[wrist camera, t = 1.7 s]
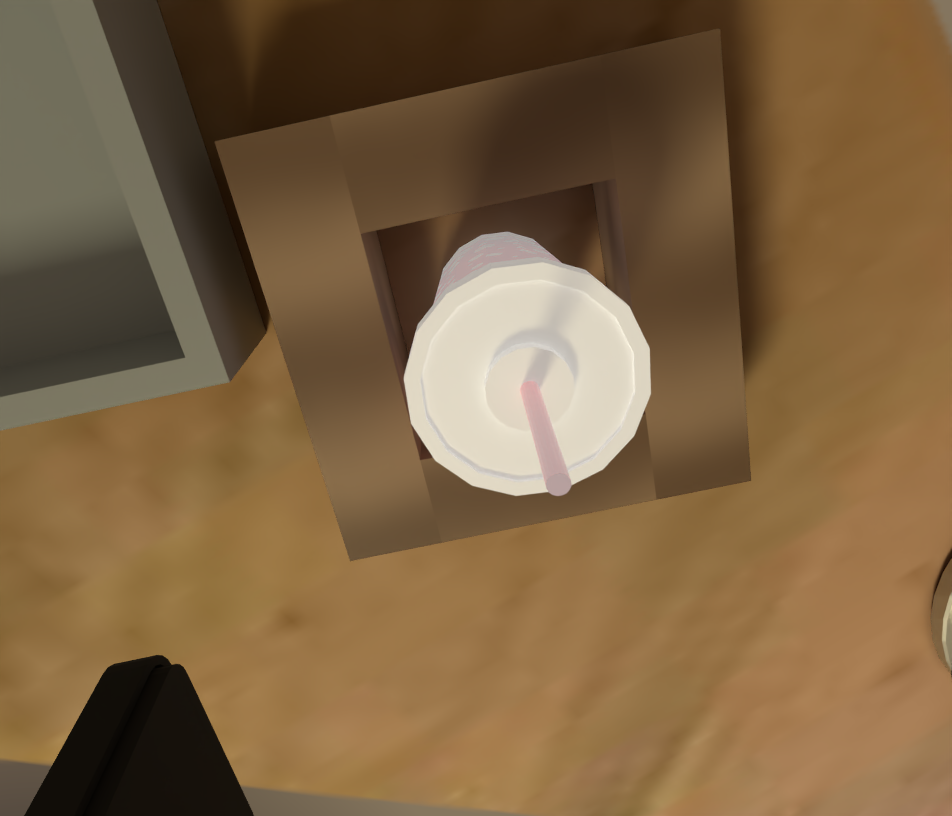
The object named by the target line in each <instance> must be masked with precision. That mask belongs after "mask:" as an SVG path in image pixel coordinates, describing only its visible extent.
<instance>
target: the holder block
mask: <svg viewBox="0 0 952 816" xmlns="http://www.w3.org/2000/svg"><path fill="white" fill-rule="evenodd" d="M214 142H215V145H216V148H217V151H218V155H219V158H220V161H221V164H222V167H223V170H224V173H225V176H226V179H227V182H228V185H229V188H230V192H231V195H232V198H233V201H234V204H235V207H236V210H237V213H238V216H239V219H240V222H241V225H242V229H243V232H244V235H245V238H246V241H247V244H248V247H249V250H250V253H251V256H252V259H253V262H254V266H255V269H256V272H257V275H258V278H259V281H260V284H261V287H262V290H263V293H264V296H265V299H266V303H267V306H268V309H269V312H270V315H271V318H272V321H273V324H274V327H275V330H276V333H277V336H278V340H279V343H280V346H281V349H282V352H283V355H284V358H285V361H286V364H287V367H288V370H289V373H290V377H291V380H292V383H293V386H294V389H295V392H296V395H297V398H298V401H299V404H300V407H301V411H302V414H303V417H304V420H305V423H306V426H307V429H308V432H309V435H310V438H311V441H312V444H313V448H314V451H315V454H316V457H317V460H318V463H319V466H320V469H321V472H322V475H323V478H324V481H325V485H326V488H327V491H328V494H329V497H330V500H331V503H332V506H333V509H334V512H335V515H336V518H337V522H338V525H339V528H340V531H341V534H342V537H343V540H344V543H345V546H346V549H347V552H348V555H349V559H350V561H352V560H357V559H362V558H367V557H372V556H377V555H382V554H387V553H392V552H397V551H402V550H407V549H412V548H417V547H422V546H427V545H432V544H437V543H442V542H447V541H452V540H457V539H462V538H467V537H472V536H477V535H482V534H487V533H492V532H497V531H502V530H507V529H512V528H517V527H522V526H527V525H532V524H537V523H542V522H547V521H552V520H557V519H562V518H567V517H572V516H577V515H582V514H587V513H592V512H597V511H602V510H607V509H612V508H617V507H622V506H627V505H632V504H637V503H642V502H647V501H652V500H657V499H662V498H667V497H672V496H677V495H682V494H687V493H692V492H697V491H702V490H707V489H712V488H717V487H722V486H727V485H732V484H737V483H742V482H747V481H751V472H750V457H749V443H748V428H747V413H746V399H745V384H744V370H743V355H742V340H741V326H740V311H739V297H738V282H737V267H736V253H735V238H734V223H733V209H732V194H731V180H730V165H729V150H728V136H727V121H726V107H725V92H724V77H723V63H722V48H721V33H720V28H718V29H714V30H709V31H705V32H700V33H696V34H692V35H687V36H683V37H678V38H674V39H669V40H665V41H660V42H656V43H651V44H647V45H642V46H638V47H633V48H629V49H625V50H620V51H616V52H611V53H607V54H602V55H598V56H593V57H589V58H584V59H580V60H575V61H571V62H567V63H562V64H558V65H553V66H549V67H544V68H540V69H535V70H531V71H526V72H522V73H517V74H513V75H508V76H504V77H500V78H495V79H491V80H486V81H482V82H477V83H473V84H468V85H464V86H459V87H455V88H450V89H446V90H442V91H437V92H433V93H428V94H424V95H419V96H415V97H410V98H406V99H401V100H397V101H392V102H388V103H384V104H379V105H375V106H370V107H366V108H361V109H357V110H352V111H348V112H343V113H339V114H334V115H330V116H325V117H321V118H317V119H312V120H308V121H303V122H299V123H294V124H290V125H285V126H281V127H276V128H272V129H267V130H263V131H259V132H254V133H250V134H245V135H241V136H236V137H232V138H227V139H223V140H218V141H214ZM587 184H592V185H593V192H594V199H595V206H596V214H597V221H598V228H599V235H600V242H601V250H602V257H603V264H604V271H605V278H606V286H607V288H608V289H609V290H611V291H612V292H613V293H614V294H616V295H617V296H618V297H619V298H620V299H622V300H623V301H624V302H625V303H626V304H627V305H628V306H629V307H630V309H631V311H632V313H633V315H634V317H635V319H636V321H637V323H638V325H639V327H640V330H641V332H642V334H643V336H644V338H645V340H646V342H647V344H648V346H649V348H650V379H651V395H650V397H649V400H648V402H647V405H646V407H645V410H644V413H643V415H642V418H641V420H640V423H639V425H638V428H637V430H636V433H635V435H634V437H633V438H632V439H631V440H630V441H629V442H628V443H627V444H626V445H625V446H624V447H623V449H622V450H621V451H620V452H619V453H618V454H617V455H616V456H615V457H614V458H613V459H612V460H611V461H610V462H609V463H608V465H607V466H606V467H605V468H604V469H603V470H601V471H599V472H597V473H595V474H593V475H591V476H589V477H587V478H585V479H583V480H581V481H579V482H577V483H575V484H573V485H571V488H570V490H569V491H568V492H567V493H566V494H564V495H561V496H555V495H552V494H550V493H549V492H544V493H536V494H527V495H519V496H514V495H510V494H506V493H501V492H497V491H493V490H488V489H484V488H480V487H475V486H472V485H470V484H469V483H467V482H466V481H464V480H463V479H461V478H460V477H458V476H457V475H456V474H454V473H453V472H451V471H450V470H448V469H447V468H445V467H444V466H442V465H441V464H439V463H438V462H436V461H435V460H434V458H433V456H432V455H431V453H430V452H429V450H428V449H427V447H426V446H425V444H424V443H423V441H422V440H421V438H420V437H419V435H418V434H417V432H416V430H415V429H414V427H413V426H412V424H411V420H410V414H409V408H408V402H407V396H406V390H405V384H404V374H405V370H406V366H407V362H408V359H409V356H408V352H407V348H406V345H405V341H404V337H403V333H402V329H401V325H400V321H399V317H398V313H397V309H396V305H395V301H394V297H393V294H392V290H391V286H390V282H389V278H388V274H387V270H386V266H385V262H384V258H383V254H382V250H381V246H380V242H379V239H378V235H377V231H376V230H380V229H385V228H389V227H394V226H399V225H403V224H408V223H412V222H417V221H422V220H426V219H431V218H435V217H440V216H445V215H449V214H454V213H458V212H463V211H468V210H472V209H477V208H481V207H486V206H491V205H495V204H500V203H504V202H509V201H514V200H518V199H523V198H527V197H532V196H537V195H541V194H546V193H550V192H555V191H560V190H564V189H569V188H573V187H578V186H583V185H587Z"/></svg>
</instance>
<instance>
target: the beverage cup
mask: <svg viewBox="0 0 952 816" xmlns="http://www.w3.org/2000/svg"><path fill="white" fill-rule="evenodd" d="M404 384H405V390H406V396H407V402H408V408H409V414H410V420H411V424H412V426H413V427H414V429H415V430H416V432H417V434H418V435H419V437H420V438H421V440H422V441H423V443H424V444H425V446H426V447H427V449H428V450H429V452H430V453H431V455H432V456H433V458H434V460H435V461H436V462H438V463H439V464H441V465H442V466H444V467H445V468H447V469H448V470H450V471H451V472H453V473H454V474H456V475H457V476H458V477H460V478H461V479H463V480H464V481H466V482H467V483H469V484H470V485H472V486H475V487H480V488H484V489H488V490H493V491H497V492H501V493H506V494H510V495H514V496H519V495H527V494H536V493H544V492H549V493H550V494H552V495H555V496H561V495H564V494H566V493H567V492H568V491H569V490H570V488H571V485H573V484H575V483H577V482H579V481H581V480H583V479H585V478H587V477H589V476H591V475H593V474H595V473H597V472H599V471H601V470H603V469H604V468H605V467H606V466H607V465H608V463H609V462H610V461H611V460H612V459H613V458H614V457H615V456H616V455H617V454H618V453H619V452H620V451H621V450H622V449H623V447H624V446H625V445H626V444H627V443H628V442H629V441H630V440H631V439H632V438H633V437H634V435H635V433H636V430H637V428H638V425H639V423H640V420H641V418H642V415H643V413H644V410H645V407H646V405H647V402H648V400H649V397H650V395H651V379H650V348H649V346H648V344H647V342H646V340H645V338H644V336H643V334H642V332H641V330H640V327H639V325H638V323H637V321H636V319H635V317H634V315H633V313H632V311H631V309H630V307H629V306H628V305H627V304H626V303H625V302H624V301H623V300H622V299H620V298H619V297H618V296H617V295H616V294H614V293H613V292H612V291H611V290H609V289H608V288H607V287H606V286H605V285H603V284H602V283H601V282H600V281H598V280H597V279H596V278H595V277H594V276H592V275H591V274H590V273H588V272H587V271H586V270H584V269H581V268H577V267H573V266H570V265H566V264H563V263H561V262H560V261H559V260H558V259H557V258H555V257H554V256H553V255H552V254H550V253H549V252H548V251H547V250H546V249H544V248H543V247H542V246H541V245H539V244H538V243H537V242H536V241H535V240H533V239H532V238H528V237H525V236H521V235H517V234H514V233H510V232H501V233H493V234H485V235H481V236H479V237H477V238H476V239H474V240H472V241H470V242H469V243H467V244H465V245H463V246H462V247H460V248H459V249H458V250H457V251H456V253H455V254H454V255H453V257H452V258H451V259H450V260H449V262H448V263H447V264H446V266H445V267H444V268H443V272H442V275H441V279H440V283H439V286H438V290H437V293H436V297H435V300H434V304H433V306H432V307H431V308H430V309H429V311H428V312H427V313H426V315H425V316H424V317H423V318H422V320H421V321H420V322H419V323H418V326H417V329H416V332H415V336H414V340H413V343H412V347H411V351H410V355H409V359H408V362H407V366H406V370H405V374H404Z"/></svg>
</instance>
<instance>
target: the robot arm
mask: <svg viewBox="0 0 952 816" xmlns="http://www.w3.org/2000/svg"><path fill="white" fill-rule="evenodd" d="M931 629H932V639H933V642H934V645H935V648H936V651H937V653H938V656H939V658H940V660H941V661H942V662H943V664H944V665H945V667H946V668H947V669H948V671H949V672H950V674H951V675H952V559H951V560H950V562H949V563H948V565H947V567H946V568H945V570H944V572H943V574H942V577H941V579H940V582H939V584H938V587H937V590H936V592H935V595H934V600H933V606H932V612H931ZM24 816H254V815H253V812H252V810H251V808H250V806H249V804H248V801H247V799H246V797H245V795H244V793H243V791H242V789H241V787H240V784H239V782H238V780H237V778H236V776H235V774H234V772H233V770H232V767H231V765H230V763H229V761H228V759H227V757H226V755H225V753H224V750H223V748H222V746H221V744H220V742H219V740H218V738H217V736H216V733H215V731H214V729H213V727H212V725H211V723H210V721H209V719H208V716H207V714H206V712H205V710H204V708H203V706H202V704H201V702H200V699H199V697H198V695H197V693H196V691H195V689H194V687H193V685H192V682H191V680H190V678H189V676H188V674H187V672H186V670H185V669H184V667H183V666H181V665H180V664H173V665H171V663H170V662H169V660H168V659H167V658H165V657H164V656H162V655H155V656H151V657H146V658H141V659H136V660H131V661H126V662H122V663H117V664H113V665H111V666H110V667H108V668H107V669H106V671H105V672H104V673H103V675H102V677H101V678H100V680H99V682H98V684H97V686H96V687H95V689H94V691H93V693H92V695H91V696H90V698H89V700H88V702H87V704H86V705H85V707H84V709H83V711H82V713H81V714H80V716H79V718H78V720H77V722H76V723H75V725H74V727H73V729H72V731H71V732H70V734H69V736H68V738H67V740H66V741H65V743H64V745H63V747H62V749H61V750H60V752H59V754H58V756H57V758H56V759H55V761H54V763H53V765H52V767H51V769H50V770H49V772H48V774H47V776H46V778H45V779H44V781H43V783H42V785H41V787H40V788H39V790H38V792H37V794H36V796H35V797H34V799H33V801H32V803H31V805H30V807H29V808H28V810H27V812H26V814H25V815H24Z"/></svg>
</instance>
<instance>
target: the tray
mask: <svg viewBox="0 0 952 816" xmlns="http://www.w3.org/2000/svg"><path fill="white" fill-rule="evenodd" d="M265 334H266V330H265V327H264V324H263V321H262V318H261V315H260V312H259V309H258V306H257V303H256V300H255V297H254V294H253V291H252V288H251V285H250V282H249V279H248V276H247V273H246V270H245V267H244V264H243V261H242V257H241V254H240V251H239V248H238V245H237V242H236V239H235V236H234V233H233V230H232V227H231V224H230V221H229V218H228V215H227V212H226V209H225V206H224V203H223V200H222V197H221V194H220V191H219V188H218V185H217V182H216V179H215V176H214V173H213V170H212V167H211V163H210V160H209V157H208V154H207V151H206V148H205V145H204V142H203V139H202V136H201V133H200V130H199V127H198V124H197V121H196V118H195V115H194V112H193V109H192V106H191V103H190V100H189V97H188V94H187V91H186V88H185V85H184V82H183V79H182V76H181V73H180V69H179V66H178V63H177V60H176V57H175V54H174V51H173V48H172V45H171V42H170V39H169V36H168V33H167V30H166V27H165V24H164V21H163V18H162V15H161V12H160V9H159V6H158V3H157V0H0V430H5V429H10V428H15V427H19V426H24V425H29V424H34V423H38V422H43V421H48V420H53V419H57V418H62V417H67V416H71V415H76V414H81V413H86V412H90V411H95V410H100V409H105V408H109V407H114V406H119V405H124V404H128V403H133V402H138V401H143V400H147V399H152V398H157V397H161V396H166V395H171V394H176V393H180V392H185V391H190V390H195V389H199V388H204V387H209V386H214V385H218V384H223V383H228V382H230V381H231V380H232V378H233V377H234V376H235V374H236V373H237V372H238V370H239V369H240V368H241V366H242V365H243V364H244V362H245V361H246V360H247V358H248V357H249V356H250V354H251V353H252V352H253V350H254V349H255V348H256V346H257V345H258V344H259V342H260V341H261V340H262V338H263V337H264V336H265Z"/></svg>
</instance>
